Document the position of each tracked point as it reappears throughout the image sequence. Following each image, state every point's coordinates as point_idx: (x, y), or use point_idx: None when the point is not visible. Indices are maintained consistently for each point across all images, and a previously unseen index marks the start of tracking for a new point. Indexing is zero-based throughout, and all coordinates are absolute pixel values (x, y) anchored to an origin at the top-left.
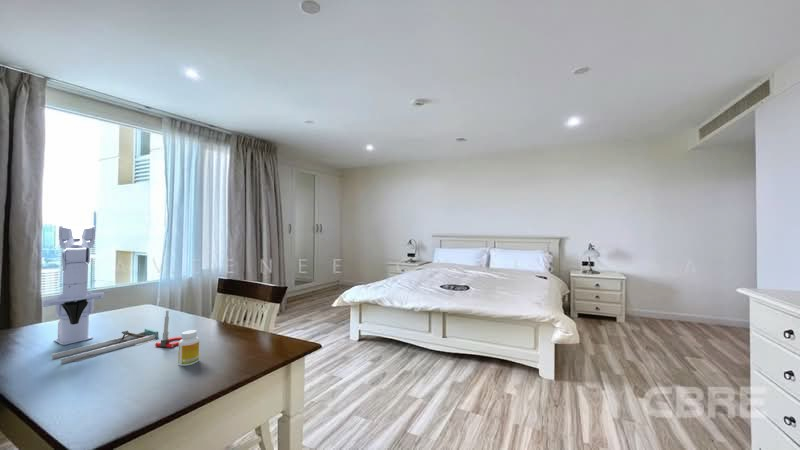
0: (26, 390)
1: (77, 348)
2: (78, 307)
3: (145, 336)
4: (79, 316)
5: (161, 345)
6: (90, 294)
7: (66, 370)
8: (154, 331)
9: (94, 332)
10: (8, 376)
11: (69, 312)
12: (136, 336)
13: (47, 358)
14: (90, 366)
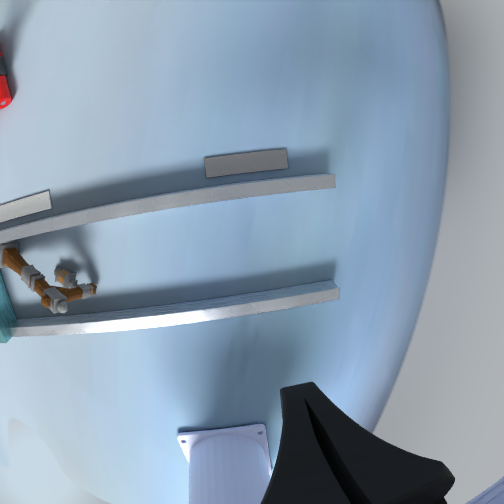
0: (416, 7)
1: (253, 302)
2: (340, 488)
3: (6, 252)
4: (291, 424)
5: (3, 70)
6: None
7: (327, 67)
8: None
9: (170, 479)
10: (442, 191)
11: (385, 445)
12: (29, 266)
13: (338, 308)
14: (255, 33)
